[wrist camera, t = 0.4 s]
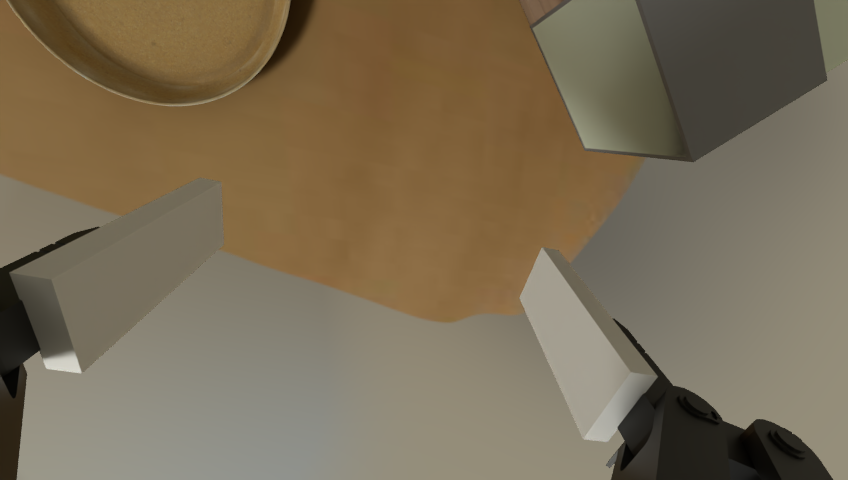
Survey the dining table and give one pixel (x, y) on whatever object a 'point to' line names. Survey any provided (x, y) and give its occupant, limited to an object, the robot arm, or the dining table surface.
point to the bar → (685, 67)
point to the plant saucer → (159, 43)
